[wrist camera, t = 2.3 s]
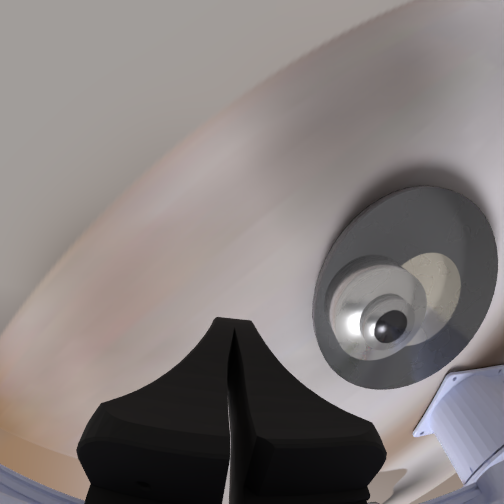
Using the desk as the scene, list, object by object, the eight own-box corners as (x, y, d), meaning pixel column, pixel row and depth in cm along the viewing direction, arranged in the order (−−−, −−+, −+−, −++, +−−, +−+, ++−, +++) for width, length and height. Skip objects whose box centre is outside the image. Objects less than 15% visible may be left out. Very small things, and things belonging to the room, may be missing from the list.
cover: (416, 260, 16) (448, 281, 13) (391, 337, 18) (414, 368, 15) (335, 248, 16) (357, 272, 13) (314, 335, 17) (328, 370, 14)
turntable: (502, 208, 17) (516, 212, 16) (446, 371, 21) (455, 382, 20) (334, 161, 16) (343, 162, 14) (289, 375, 20) (292, 390, 19)
